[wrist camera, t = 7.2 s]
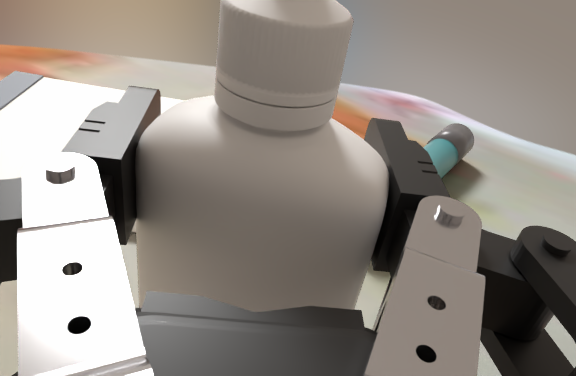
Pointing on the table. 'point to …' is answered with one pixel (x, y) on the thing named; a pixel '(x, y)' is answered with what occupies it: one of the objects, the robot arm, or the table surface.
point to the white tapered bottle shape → (262, 171)
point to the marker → (449, 147)
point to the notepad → (45, 116)
